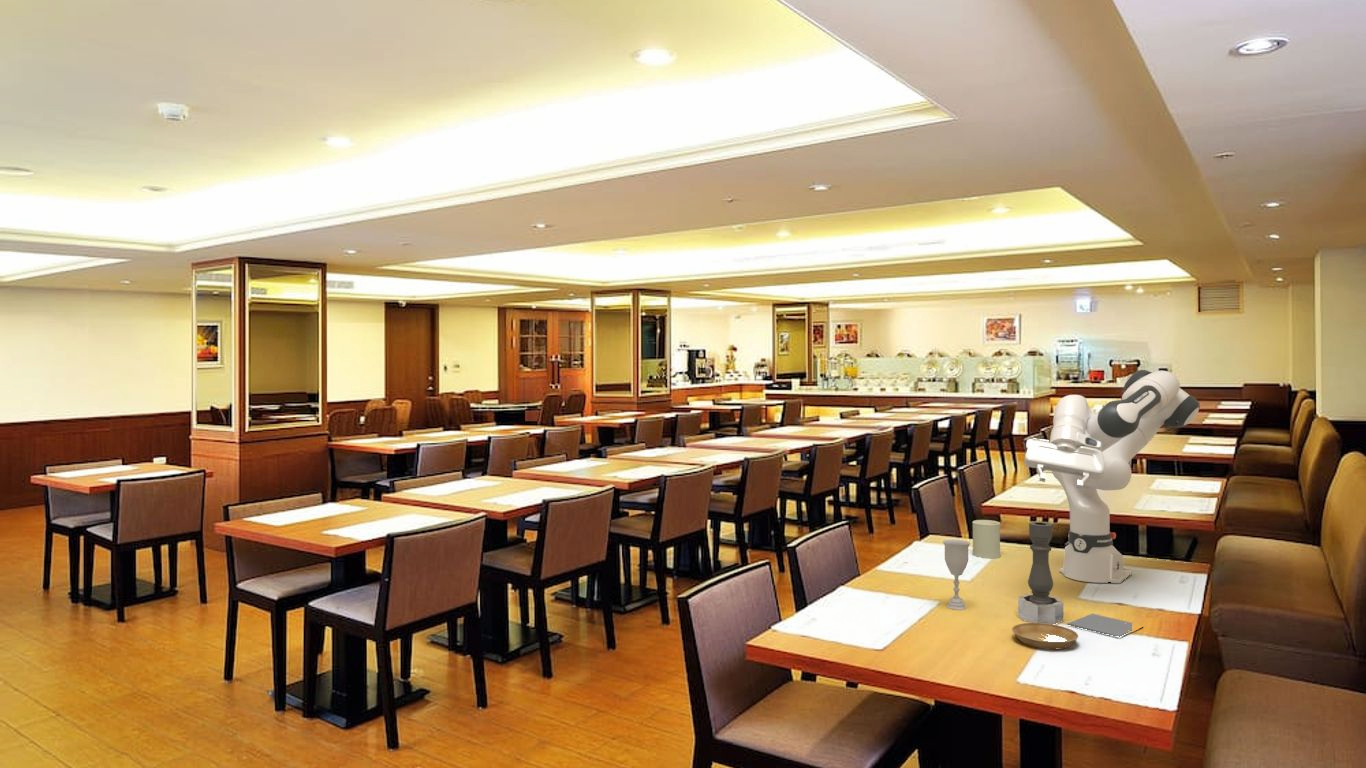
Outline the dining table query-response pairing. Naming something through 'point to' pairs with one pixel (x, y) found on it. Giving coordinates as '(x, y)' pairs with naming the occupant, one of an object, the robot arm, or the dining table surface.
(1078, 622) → the slate mat
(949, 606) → the chalice
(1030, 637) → the plant saucer
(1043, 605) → the steel collar
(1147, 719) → the dining table surface
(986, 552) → the can
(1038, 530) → the candle holder
